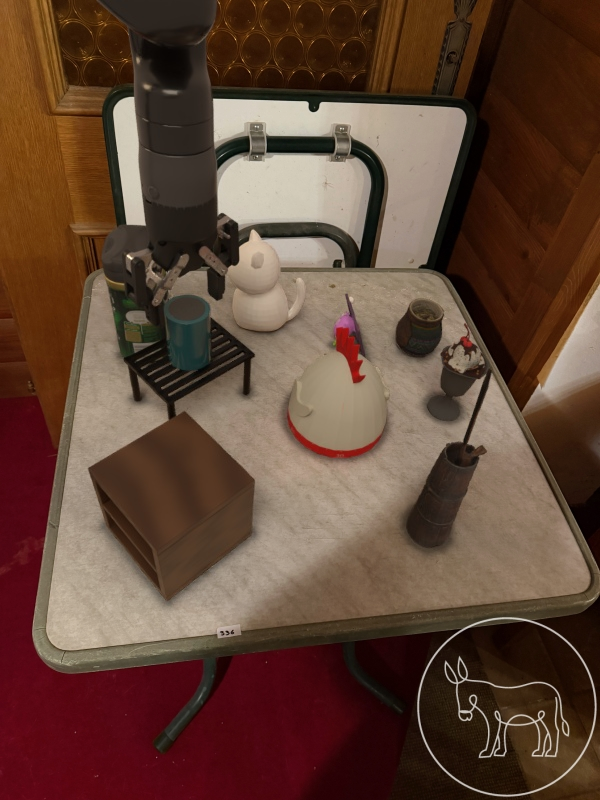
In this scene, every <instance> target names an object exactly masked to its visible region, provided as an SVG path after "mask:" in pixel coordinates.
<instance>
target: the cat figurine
mask: <svg viewBox="0 0 600 800" xmlns="http://www.w3.org/2000/svg"><path fill="white" fill-rule="evenodd" d="M262 239H263V238H262V237H261V236H260V234H259V233H258V232H257V231H256V230H255V229H251V231H250V233H249V239H248V241H246V242H244V243H242V244H241V245H239V263H238V264H237V265H236V266H233V265H231V266H230V267H229V268H228V271H227V273H226V276H227V277H228V279H229V281H230V282H231V284H233V286H234V287H235V290H234V293H233V295H232V303H231V304H232V305H231V306H232V315H233V318H234V320H235V323H236V324H237V325H238V326H239V327H240V328H242V329H245V330H249V331H256V332H274V331H277V330H278V329H280V328H282V327H283V326H284V325H285V323H286V322H289V321H291V320H292V319H294V318H295V317H296V316H297V315H298V314H299V313H300V311H301V310H302V308H303V306H304V303H305V301H306V298H307V297H306V296H307V286H306V282H305V281H304V279H303V278H302V277H297V278H296V279H295V287H296V296H295V300H294V302H293V304H292V306H291V307H290V308H289V301H288V298H287V295H286V292H285V291H284V289H283V287H282V285H281V283H280V282H279V280H280V277H281V274H282V273H281V271H282V268H281V261H280V257H279V254H278V253H277V251H276V249H275V248H274V247H273V246H272V245H271V244H270V243H269V242H266V241H265V240H262Z"/></svg>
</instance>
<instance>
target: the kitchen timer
mask: <svg viewBox="0 0 600 800" xmlns="http://www.w3.org/2000/svg"><path fill="white" fill-rule="evenodd" d="M355 338H356V335H354V336H349V327H348V328H343V327H338V328H336V336H335V340H336V345H335V349H336V350H333V351H330V352H328V353H324V354H323V355H321V356H319V357H318V358H317V359H315V360H314V361H313V362H312V363H310V364H309V365H308V366H307V367H306V368H305V369H304V371H303V373H302V374H301V376H300V377H299V379H297V378H295V379H294V381H293V385H292V389H291V393H290V395H289V400H288V406H287V414H286V418H287V423H288V428H289V429H290V431H291V433H292V435H293V436H294V438H295V439H296V440H297V441H298V442H299V443H300V444H301V445H303V446H304V447H305V448H307V449H308V450H310V451H312V452H314V453H316V454H318V455H322V456H324V457H328V458H332V459H333V458H337V459H348V458H354V457H358V456H362V455H363V454H365V453H366V452H369V451H370V450H372V449H373V448H374V447H375V446H376V445H377V444H378V443H379V441H380V440H381V437H382V435H383V432H384V431H385V426H386V424H387V411H388V409H387V404H388V403H387V401H389V400H390V397H391V396H390V395H391V392H390V389H389V388H388V386H387V385H386V383H385V380H384V378H383V374H382V371H381V370H380V368H379V367H378V366H377V365H374V364H373V363H372V362H371V361H370V360H368V359H367V357H366V358H365V357H363V356H362V354H360V353H359V352H360V347H359V344H355V341H356V339H355Z"/></svg>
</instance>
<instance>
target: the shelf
mask: <svg viewBox="0 0 600 800" xmlns="http://www.w3.org/2000/svg"><path fill="white" fill-rule="evenodd" d="M87 471H88V473H89V477H90V480H91V483H92V486H93V489H94V492H95V495H96V498H97V501H98V505H99V508H100V511H101V514H102V517H103V520H104V523H105V526H106V528H107V529H108V530H109V531H110V532H111V535H113V536H114V538H115V539H116V540H117V542H118V543H119V544H120V545H121V546H122V548H123V549H124V550H125V552H126V553H127V554H128V555H129V557H130V558H131V559H132V561H134V562H135V564H136V565H137V567H138V568H139V569H140V570H141V571H142V573H143V574H144V575H145V577H146V578H147V579H148V580H149V581H150V583H151V584H152V585H153V586H154V588H155V589H156V590H157V591H158V593H159V594H160V595H161V596H162V598H163V599H164V600H165V601H166V602H169V601H170V600H171V599H172V598H174V597H175V596H176V595H177V594H178V593H179V592H181V591H182V590H184V589H185V588H186V587H188V586H189V585H190V584H191V583H193V582H194V581H195V580H196V579H198V578H199V577H200V576H201V575H202V574H204V573H205V572H206V571H208V570H209V569H210V568H211V567H213V566H214V565H216V564H217V563H218V562H219V561H220V560H222V559H223V558H224V557H226V555H228V554H229V553H230V552H232V551H233V550H234V549H236V548H237V547H239V545H240V544H242V543H243V542H244V541H246V540H247V539H248V538H249V537H251V536H252V528H253V516H254V515H253V514H254V513H253V512H254V498H255V486H256V485H255V484H256V479H255V478H254V477H253V476H252V475H251V474H250V473H249V472H248V471H247V470H246V469H245V468H244V467H243V466H242V465H241V464H240V463H239V462H238V461H237V460H236V459H235V458H233V456H232V455H231V454H230V453H229V452H228V451H227V450H226V449H224V448H223V447H222V446H221V444H219V442H217V440H215V439H214V438H213V436H212V435H210V433H208V432H207V431H206V430H205V429H204V428H203V427H202V426H201V425H200V424H199V423H198V422H197V421H196V420H195V418H193V417H192V416H191V415H190V414H189V413H188V412H187V411H185V410H183V411H182V412H180V413H179V414H176V416H175V417H173V418H172V419H170V420H167V421H165V422H163V423H161V424H159V425H158V426H156V427H154V428H153V429H151V430H150V431H148V432H146V433H145V434H143V435H142V436H139V437H137V438H136V439H134V440H133V441H131V442H130V443H128V444H126V445H124V446H123V447H121V448H119V449H118V450H116V451H114V452H112V453H111V454H109V455H107V456H106V457H104V458H102V459H100V460H99V461H97V462H96V463H94V464H92V465H91V466H88V468H87Z"/></svg>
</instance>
